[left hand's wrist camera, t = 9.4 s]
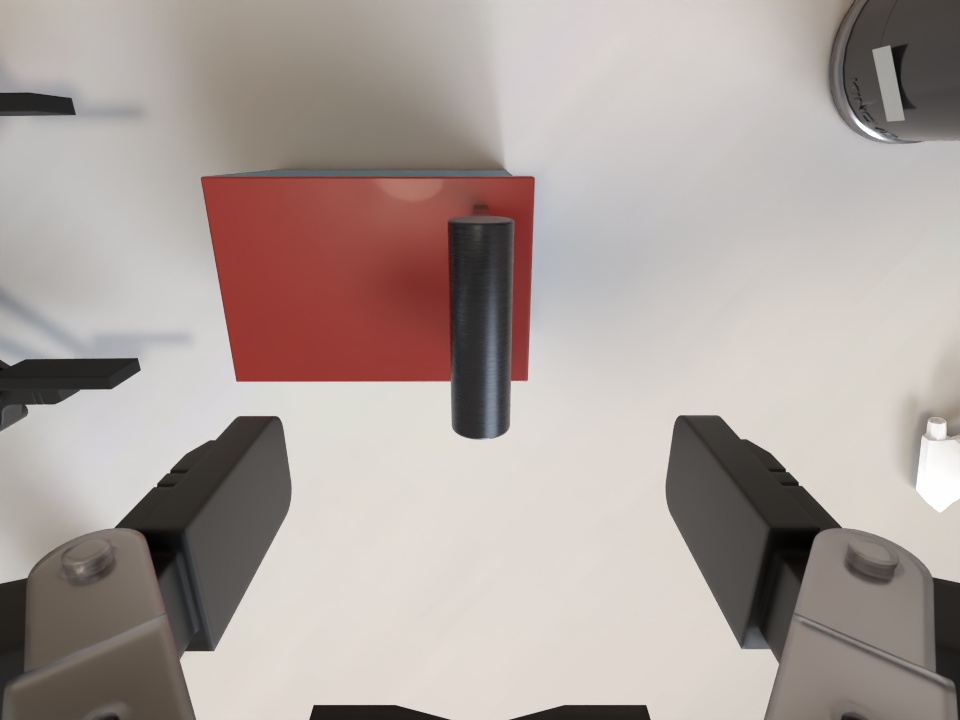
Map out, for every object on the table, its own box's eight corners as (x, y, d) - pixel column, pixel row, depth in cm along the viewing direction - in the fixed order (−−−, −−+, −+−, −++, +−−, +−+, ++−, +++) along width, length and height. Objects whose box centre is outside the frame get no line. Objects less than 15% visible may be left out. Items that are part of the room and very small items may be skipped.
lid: (532, 175, 24) (559, 187, 16) (526, 374, 28) (545, 465, 20) (209, 176, 24) (76, 188, 16) (243, 375, 28) (147, 465, 20)
